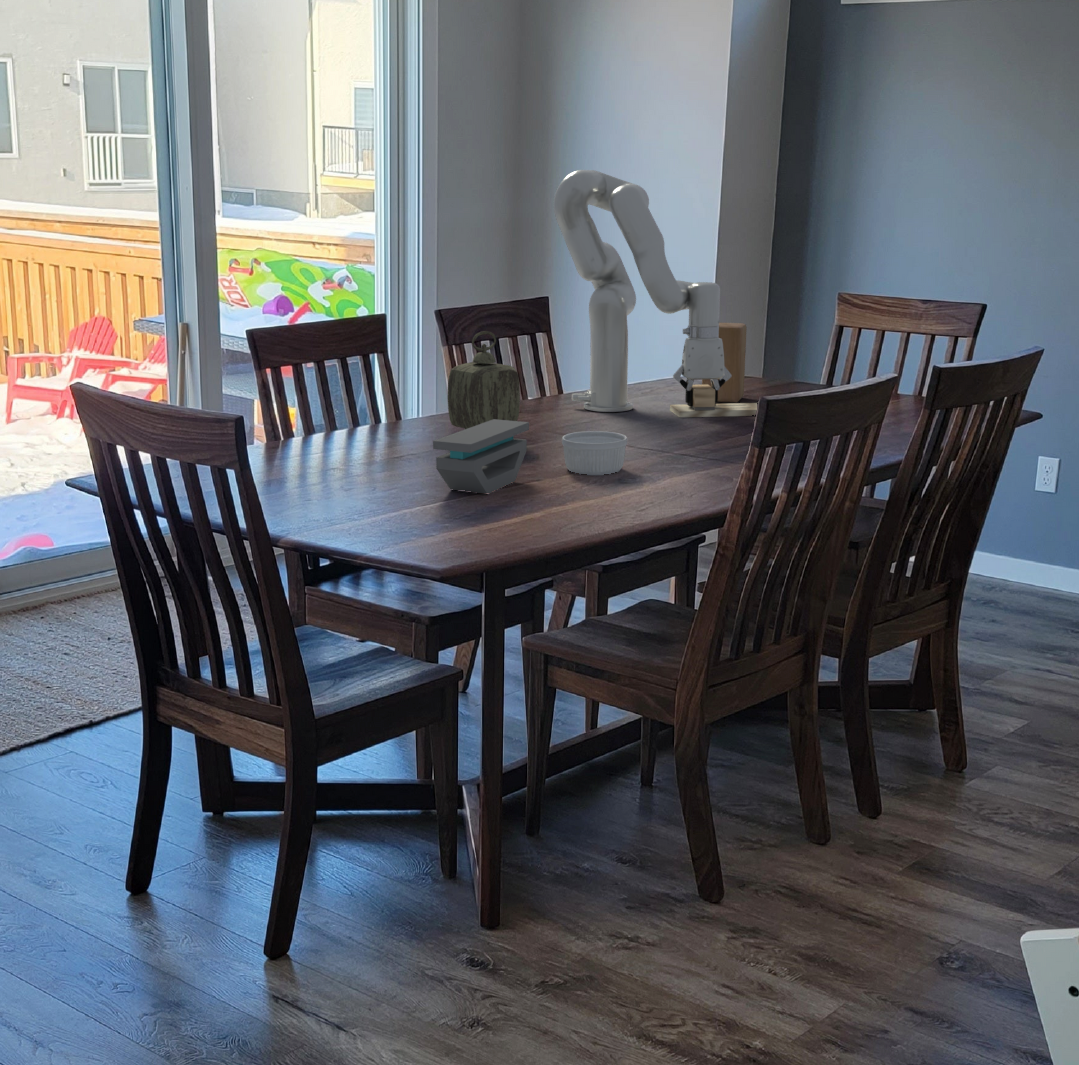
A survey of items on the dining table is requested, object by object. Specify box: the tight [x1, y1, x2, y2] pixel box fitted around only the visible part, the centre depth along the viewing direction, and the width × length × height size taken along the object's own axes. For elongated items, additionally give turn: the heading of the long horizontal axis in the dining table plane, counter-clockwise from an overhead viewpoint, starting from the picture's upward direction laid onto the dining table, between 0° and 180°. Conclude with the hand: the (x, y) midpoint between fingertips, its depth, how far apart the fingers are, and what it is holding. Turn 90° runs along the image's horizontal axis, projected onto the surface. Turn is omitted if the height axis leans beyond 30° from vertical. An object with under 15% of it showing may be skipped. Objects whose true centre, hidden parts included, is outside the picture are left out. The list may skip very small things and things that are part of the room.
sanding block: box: [692, 384, 715, 410], centre depth 342 cm, size 9×5×5 cm, turn 4°
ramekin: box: [561, 430, 628, 476], centre depth 278 cm, size 13×13×7 cm
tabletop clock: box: [447, 330, 521, 430], centre depth 301 cm, size 14×9×25 cm, turn 134°
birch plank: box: [669, 402, 758, 418], centre depth 344 cm, size 24×10×2 cm, turn 98°
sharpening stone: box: [432, 419, 530, 494], centre depth 262 cm, size 25×8×11 cm, turn 155°
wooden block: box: [701, 322, 748, 403], centre depth 361 cm, size 10×10×20 cm
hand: (701, 404), depth 343 cm, fingers closed on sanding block, 5 cm apart
